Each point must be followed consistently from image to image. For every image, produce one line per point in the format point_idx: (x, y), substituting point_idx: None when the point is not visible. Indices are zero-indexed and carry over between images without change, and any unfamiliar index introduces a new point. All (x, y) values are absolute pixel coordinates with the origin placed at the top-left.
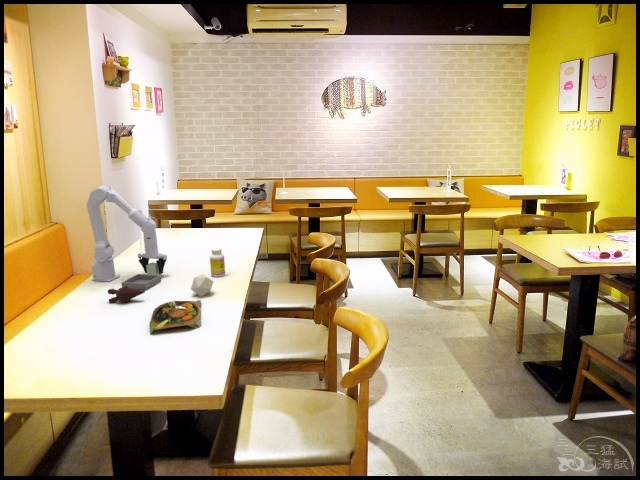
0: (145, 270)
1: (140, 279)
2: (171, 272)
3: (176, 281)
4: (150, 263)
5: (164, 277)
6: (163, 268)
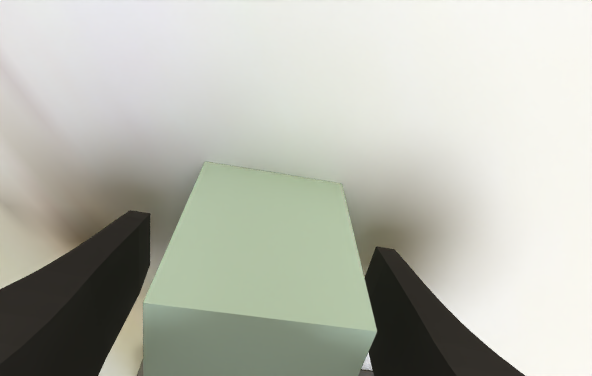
0: (130, 308)
1: None
2: (479, 68)
3: (568, 366)
4: (161, 358)
5: (417, 272)
6: (430, 295)
